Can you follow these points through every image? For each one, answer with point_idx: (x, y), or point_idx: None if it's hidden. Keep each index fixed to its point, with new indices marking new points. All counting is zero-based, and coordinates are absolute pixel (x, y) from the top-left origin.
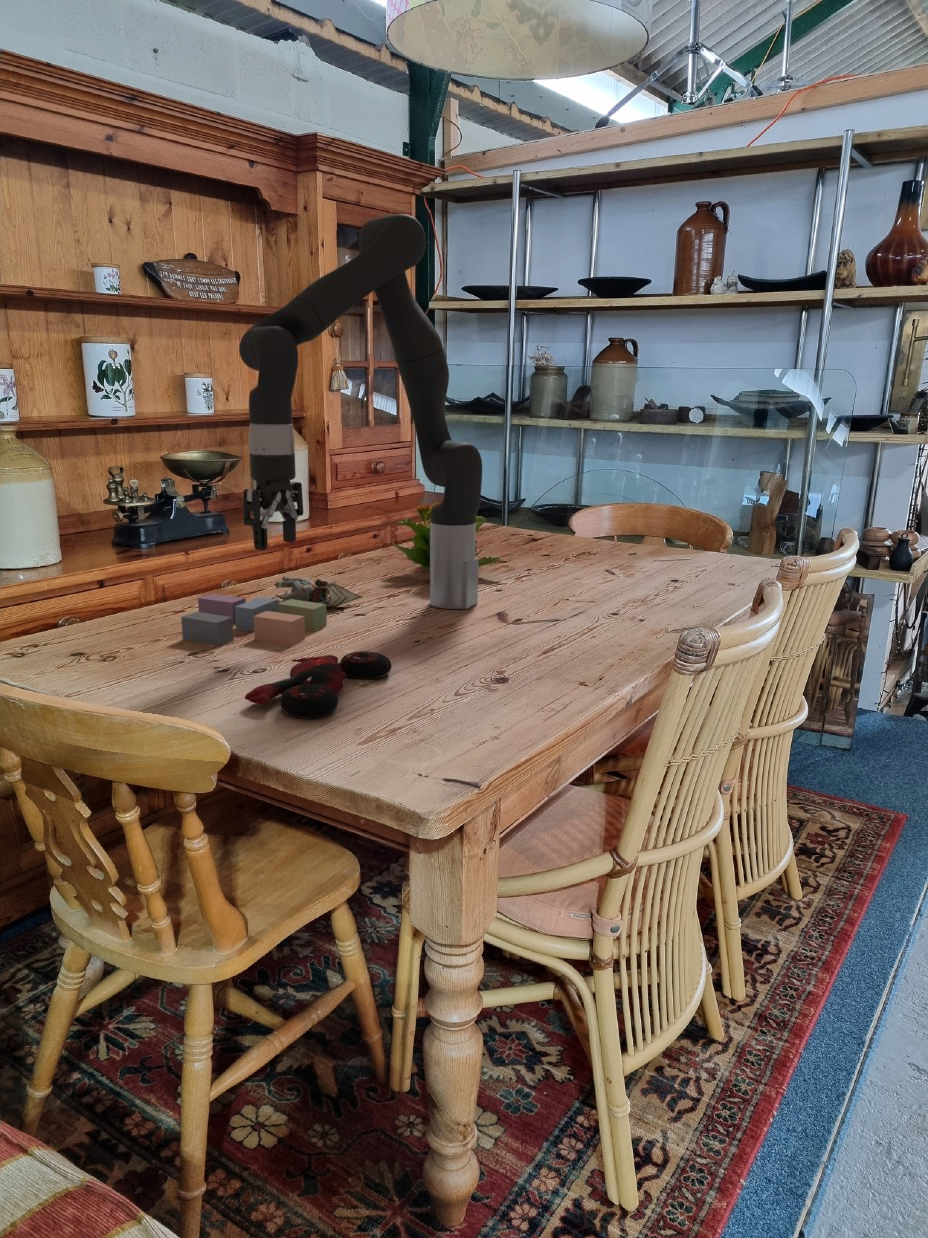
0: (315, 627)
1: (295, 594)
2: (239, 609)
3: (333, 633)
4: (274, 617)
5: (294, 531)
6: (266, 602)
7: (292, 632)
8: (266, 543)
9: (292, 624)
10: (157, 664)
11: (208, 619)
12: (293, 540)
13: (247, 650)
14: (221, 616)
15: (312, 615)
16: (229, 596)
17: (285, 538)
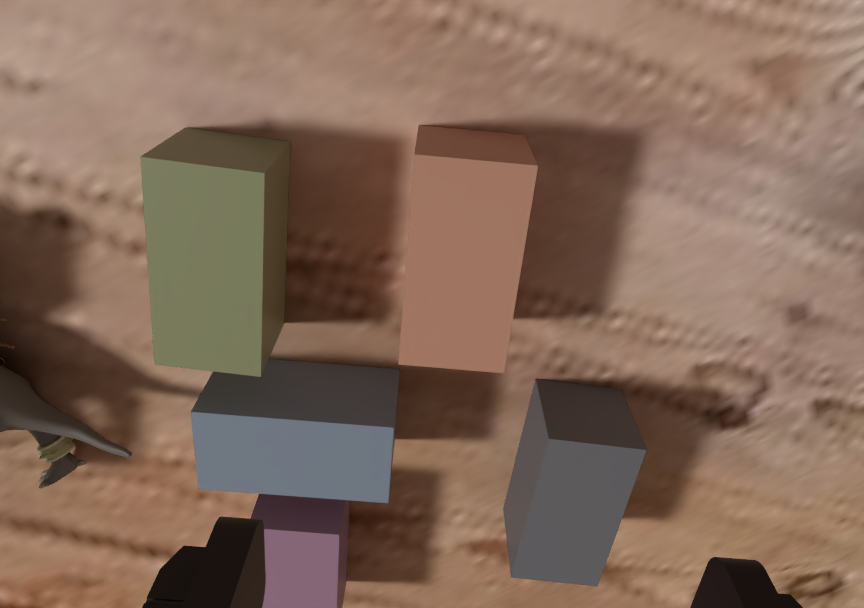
0: (277, 144)
1: (12, 405)
2: (390, 477)
3: (280, 32)
4: (490, 281)
5: (208, 602)
6: (267, 429)
7: (527, 150)
8: (763, 602)
9: (529, 161)
10: (857, 455)
11: (607, 497)
12: (259, 525)
13: (647, 272)
14: (549, 478)
15: (272, 172)
16: None
17: (257, 604)
